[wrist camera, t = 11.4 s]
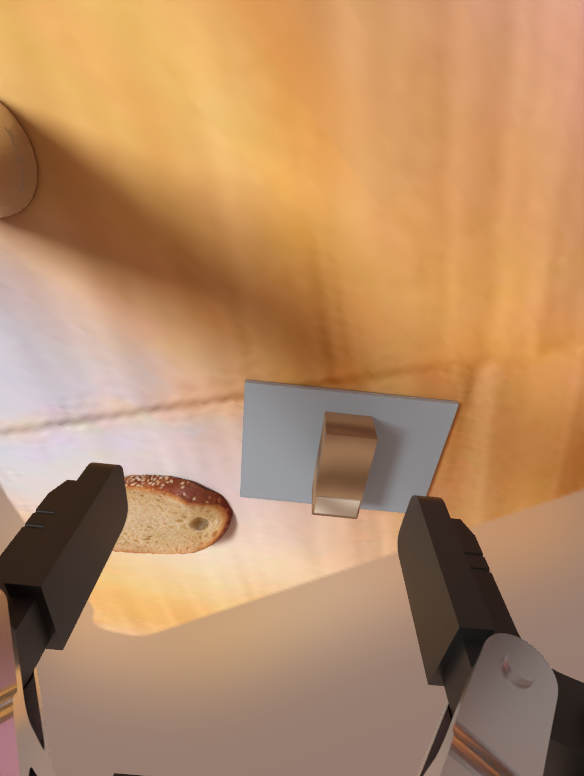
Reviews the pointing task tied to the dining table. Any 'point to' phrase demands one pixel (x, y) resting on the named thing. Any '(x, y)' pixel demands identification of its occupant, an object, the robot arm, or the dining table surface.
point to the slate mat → (303, 432)
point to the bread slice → (171, 516)
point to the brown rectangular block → (343, 464)
